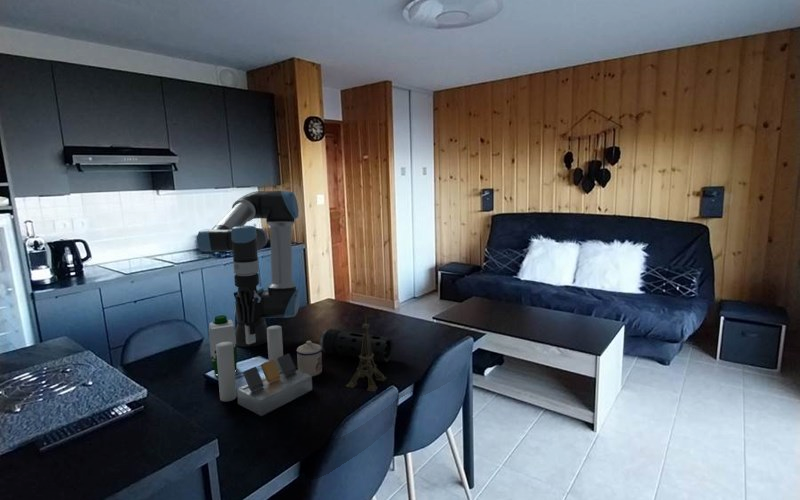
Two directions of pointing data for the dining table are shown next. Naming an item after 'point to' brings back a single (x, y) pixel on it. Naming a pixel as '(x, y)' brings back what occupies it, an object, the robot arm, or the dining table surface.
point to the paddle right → (286, 364)
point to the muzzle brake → (355, 344)
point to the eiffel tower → (366, 368)
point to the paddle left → (253, 379)
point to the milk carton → (221, 337)
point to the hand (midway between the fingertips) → (250, 342)
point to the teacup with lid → (310, 358)
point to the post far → (275, 344)
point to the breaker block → (274, 392)
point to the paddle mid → (270, 371)
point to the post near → (226, 371)
